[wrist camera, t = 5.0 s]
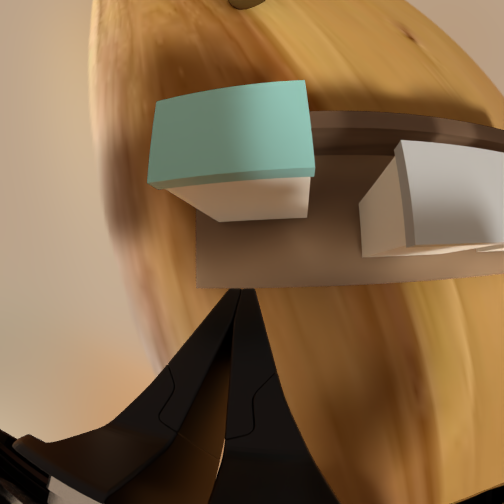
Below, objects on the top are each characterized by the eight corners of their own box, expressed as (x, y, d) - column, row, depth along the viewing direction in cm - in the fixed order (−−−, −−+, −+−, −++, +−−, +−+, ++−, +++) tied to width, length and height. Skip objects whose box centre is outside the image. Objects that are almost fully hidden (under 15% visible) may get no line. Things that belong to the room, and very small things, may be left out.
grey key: (441, 255, 14) (529, 241, 6) (360, 259, 15) (415, 245, 7) (436, 202, 14) (514, 155, 6) (356, 201, 15) (400, 139, 7)
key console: (521, 270, 14) (562, 268, 9) (204, 287, 18) (170, 291, 13) (507, 162, 15) (541, 141, 10) (205, 159, 19) (176, 126, 14)
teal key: (308, 219, 16) (315, 167, 8) (217, 223, 16) (147, 183, 9) (305, 165, 16) (304, 80, 8) (217, 171, 17) (156, 101, 9)
